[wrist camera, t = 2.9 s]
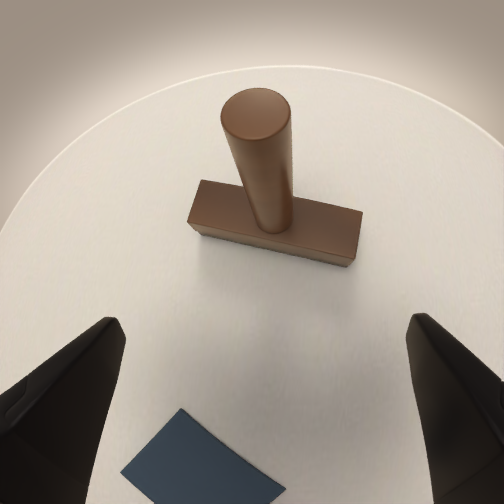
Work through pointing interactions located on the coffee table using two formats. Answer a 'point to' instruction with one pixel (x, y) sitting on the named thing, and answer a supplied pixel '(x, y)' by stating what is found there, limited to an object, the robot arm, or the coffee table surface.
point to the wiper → (270, 190)
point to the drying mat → (196, 469)
